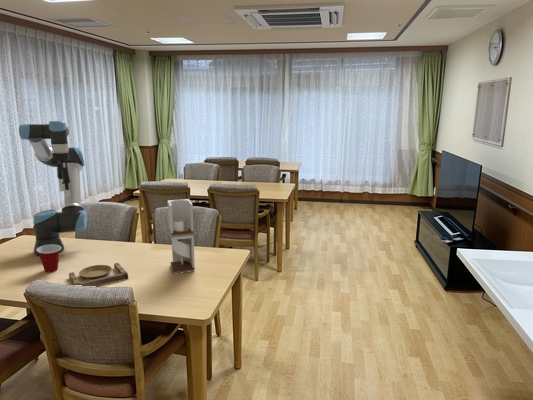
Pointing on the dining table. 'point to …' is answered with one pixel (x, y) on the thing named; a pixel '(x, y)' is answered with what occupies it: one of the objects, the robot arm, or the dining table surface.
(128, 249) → the dining table surface
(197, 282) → the dining table surface
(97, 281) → the bay
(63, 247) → the robot arm
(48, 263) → the plastic cup
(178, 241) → the display case
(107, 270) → the plant saucer
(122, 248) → the dining table surface
